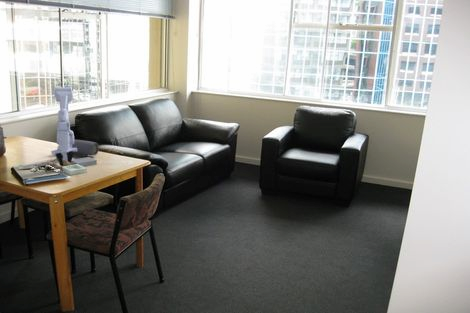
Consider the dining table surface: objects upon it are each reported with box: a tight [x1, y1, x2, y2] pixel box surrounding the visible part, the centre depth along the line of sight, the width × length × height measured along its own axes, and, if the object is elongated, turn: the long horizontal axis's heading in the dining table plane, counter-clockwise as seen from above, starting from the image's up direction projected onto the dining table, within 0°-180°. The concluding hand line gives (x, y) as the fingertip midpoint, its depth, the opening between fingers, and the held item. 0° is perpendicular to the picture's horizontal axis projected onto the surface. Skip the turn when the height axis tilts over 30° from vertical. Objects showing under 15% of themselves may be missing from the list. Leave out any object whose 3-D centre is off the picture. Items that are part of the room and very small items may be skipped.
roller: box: [61, 160, 71, 168], centre depth 261 cm, size 6×4×4 cm, turn 47°
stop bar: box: [46, 161, 61, 169], centre depth 256 cm, size 12×2×3 cm, turn 47°
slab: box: [71, 156, 98, 167], centre depth 270 cm, size 9×12×3 cm
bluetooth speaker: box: [72, 139, 100, 158], centre depth 288 cm, size 23×9×10 cm, turn 76°
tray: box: [61, 164, 88, 176], centre depth 255 cm, size 10×9×2 cm
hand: (65, 165), depth 261 cm, fingers open, 4 cm apart
